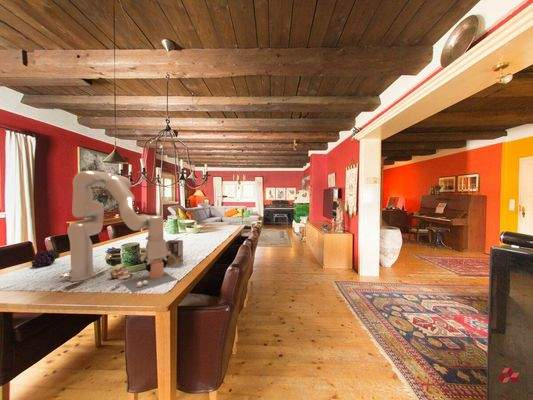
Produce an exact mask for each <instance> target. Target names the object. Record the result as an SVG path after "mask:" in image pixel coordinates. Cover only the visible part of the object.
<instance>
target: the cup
mask: <svg viewBox="0 0 533 400" xmlns="http://www.w3.org/2000/svg"><path fill="white" fill-rule="evenodd" d="M149 264H150V272H148V275H149V278H150V279H157V278H161V277H162V276H164V272H165V271H164V270H165V268H164V262H163V261H162V260H159V259H155V260H151V261H150V263H149Z"/></svg>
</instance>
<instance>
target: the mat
mask: <svg viewBox="0 0 533 400" xmlns="http://www.w3.org/2000/svg"><path fill="white" fill-rule="evenodd" d="M145 280H147V281H148V284H147V285H143V281H145ZM175 281H178V278H176V277H174V276H172V275H171V274H169V273H167V272H165V271H164V276H162V277H161V278H157V279H150V278H149V274H148V275H143V276H141V277H137V278H132V279H128V280H123V281H122V282H121V281H120V283H121V285H123V286H124V287H125V288H127V290H129V292H131V293H132V294H135V293H137V292H140V291H145V290H147V289H151V288H154V287H158V286H162V285H165V284H168V283H172V282H175ZM138 282H142V286H141V287H138V286H137V283H138Z"/></svg>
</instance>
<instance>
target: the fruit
mask: <svg viewBox="0 0 533 400" xmlns="http://www.w3.org/2000/svg"><path fill="white" fill-rule="evenodd" d="M60 255H61V253H59V252H57V251H56V250H54V249H49V250H40V252H38V253H37V255H36V256H35V257H33V258H32V259H33V260H32V261H31V262H30V263H31V267H32V268H39V267H45V266H47V265H48V266H52V265H53V263H54V262H56V260H57V259H59V258H60Z"/></svg>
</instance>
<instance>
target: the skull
mask: <svg viewBox="0 0 533 400" xmlns="http://www.w3.org/2000/svg"><path fill="white" fill-rule="evenodd" d="M109 274H110V277H111V278H108V279H107V280H106V282H108V281H110V282H111V281H114V280H120V282H121V281H122V282H123V281H126V280H127V279H128V280H129V279H130V278H132V277H133V276H134V274H133V273H130V271H129V270H128V268H126V266H125V265H124V264H121V263H120V264H119V263H118V264H115V265H114V266H113V267H112V268H111V269H110V271H109Z"/></svg>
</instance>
